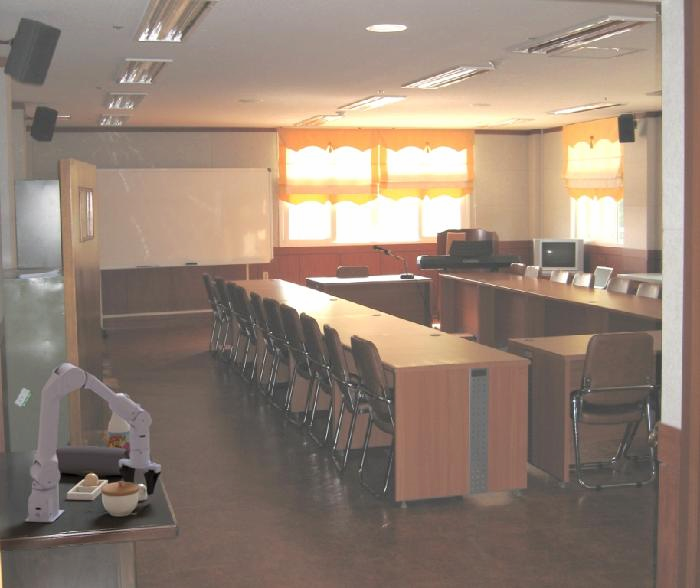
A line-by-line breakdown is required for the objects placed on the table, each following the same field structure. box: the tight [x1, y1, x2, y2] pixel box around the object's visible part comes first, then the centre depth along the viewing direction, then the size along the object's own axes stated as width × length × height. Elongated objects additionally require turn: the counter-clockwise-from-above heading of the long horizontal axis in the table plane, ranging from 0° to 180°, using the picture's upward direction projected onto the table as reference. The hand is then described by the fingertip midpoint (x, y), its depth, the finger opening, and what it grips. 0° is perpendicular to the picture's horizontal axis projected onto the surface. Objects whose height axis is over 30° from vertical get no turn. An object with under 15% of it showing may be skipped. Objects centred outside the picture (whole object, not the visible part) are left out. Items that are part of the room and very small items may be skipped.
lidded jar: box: [101, 480, 139, 517], centre depth 281 cm, size 11×11×9 cm
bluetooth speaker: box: [56, 445, 130, 477], centre depth 317 cm, size 23×9×10 cm, turn 84°
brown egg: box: [84, 473, 99, 486], centre depth 302 cm, size 4×4×5 cm
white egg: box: [137, 483, 148, 502], centre depth 293 cm, size 4×4×5 cm
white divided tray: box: [66, 478, 109, 501], centre depth 299 cm, size 14×8×2 cm, turn 176°
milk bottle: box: [107, 411, 130, 455], centre depth 335 cm, size 8×8×20 cm
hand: (140, 492), depth 293 cm, fingers open, 7 cm apart
